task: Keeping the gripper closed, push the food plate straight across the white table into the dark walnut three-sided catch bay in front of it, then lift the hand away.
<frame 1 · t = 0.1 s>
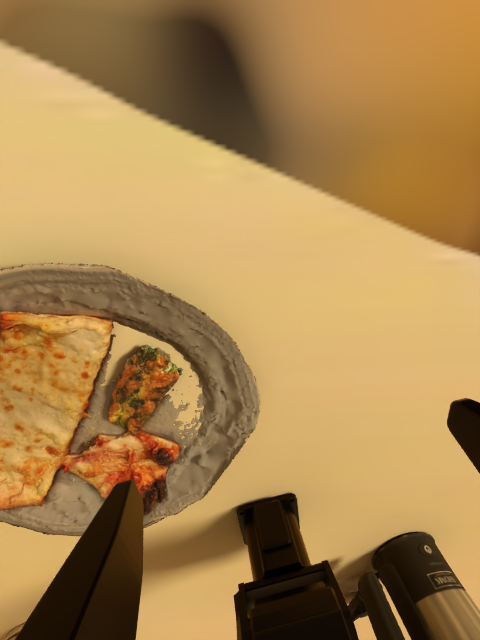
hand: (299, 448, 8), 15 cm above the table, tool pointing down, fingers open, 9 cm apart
coffee can: (52, 634, 38), on the table
food plate: (100, 410, 25), on the table
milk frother: (382, 565, 44), on the table
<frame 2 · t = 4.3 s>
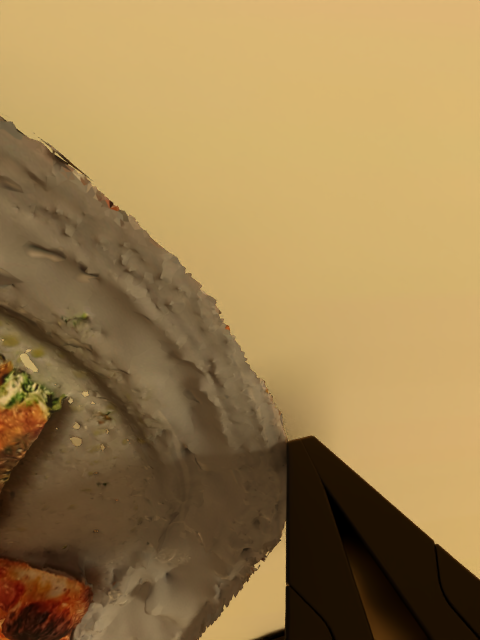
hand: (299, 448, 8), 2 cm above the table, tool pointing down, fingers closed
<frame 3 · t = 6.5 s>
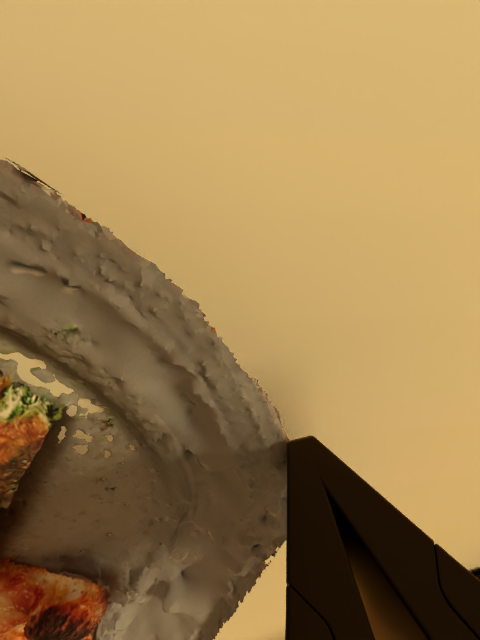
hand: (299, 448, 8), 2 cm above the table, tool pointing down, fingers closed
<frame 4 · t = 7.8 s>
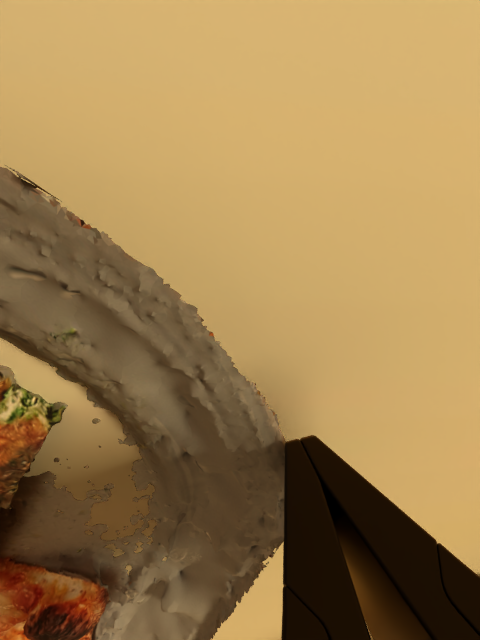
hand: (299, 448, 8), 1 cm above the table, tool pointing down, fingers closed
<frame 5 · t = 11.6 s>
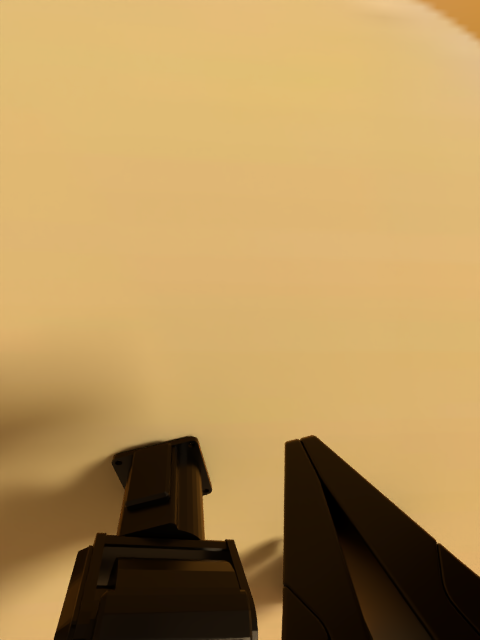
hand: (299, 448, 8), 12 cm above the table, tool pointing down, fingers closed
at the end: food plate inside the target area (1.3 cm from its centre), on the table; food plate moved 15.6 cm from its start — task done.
